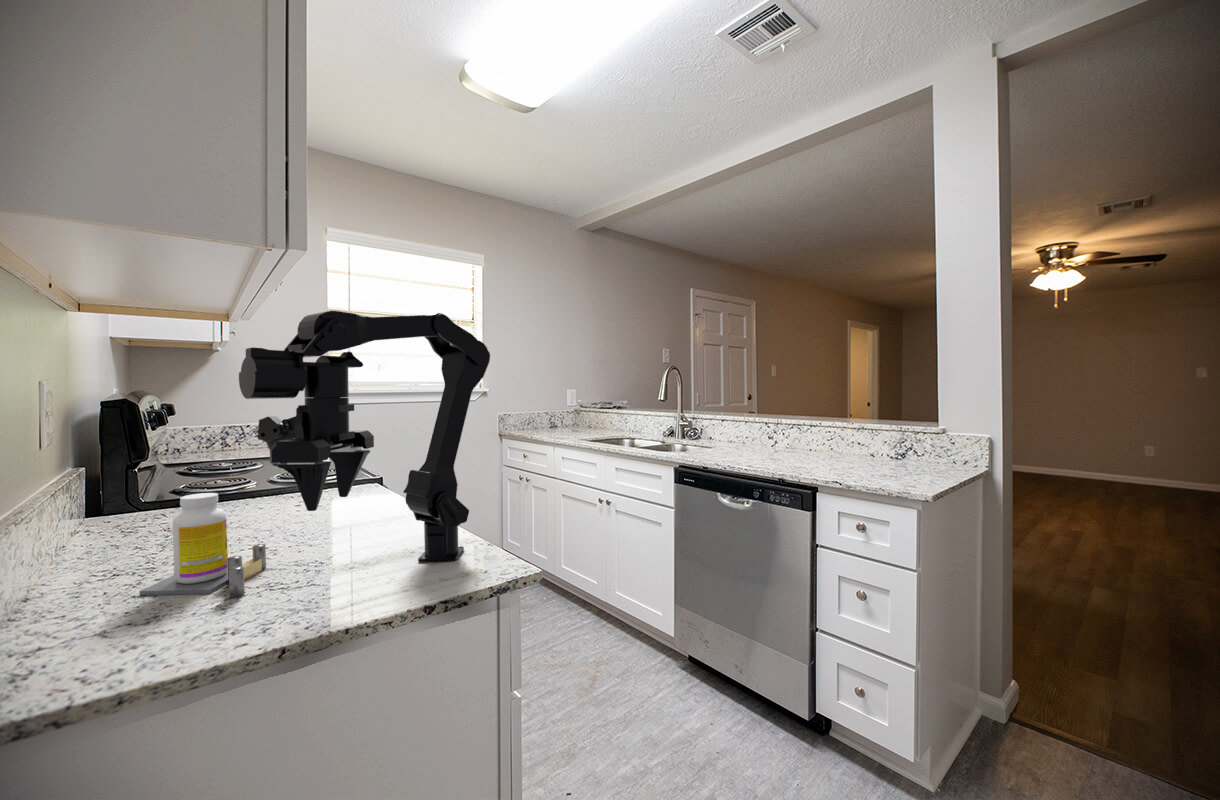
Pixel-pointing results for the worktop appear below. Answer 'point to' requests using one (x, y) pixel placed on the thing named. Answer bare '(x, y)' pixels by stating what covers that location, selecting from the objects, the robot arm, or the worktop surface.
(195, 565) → the supplement bottle
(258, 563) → the bent rail
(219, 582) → the slate coaster
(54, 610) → the worktop surface
